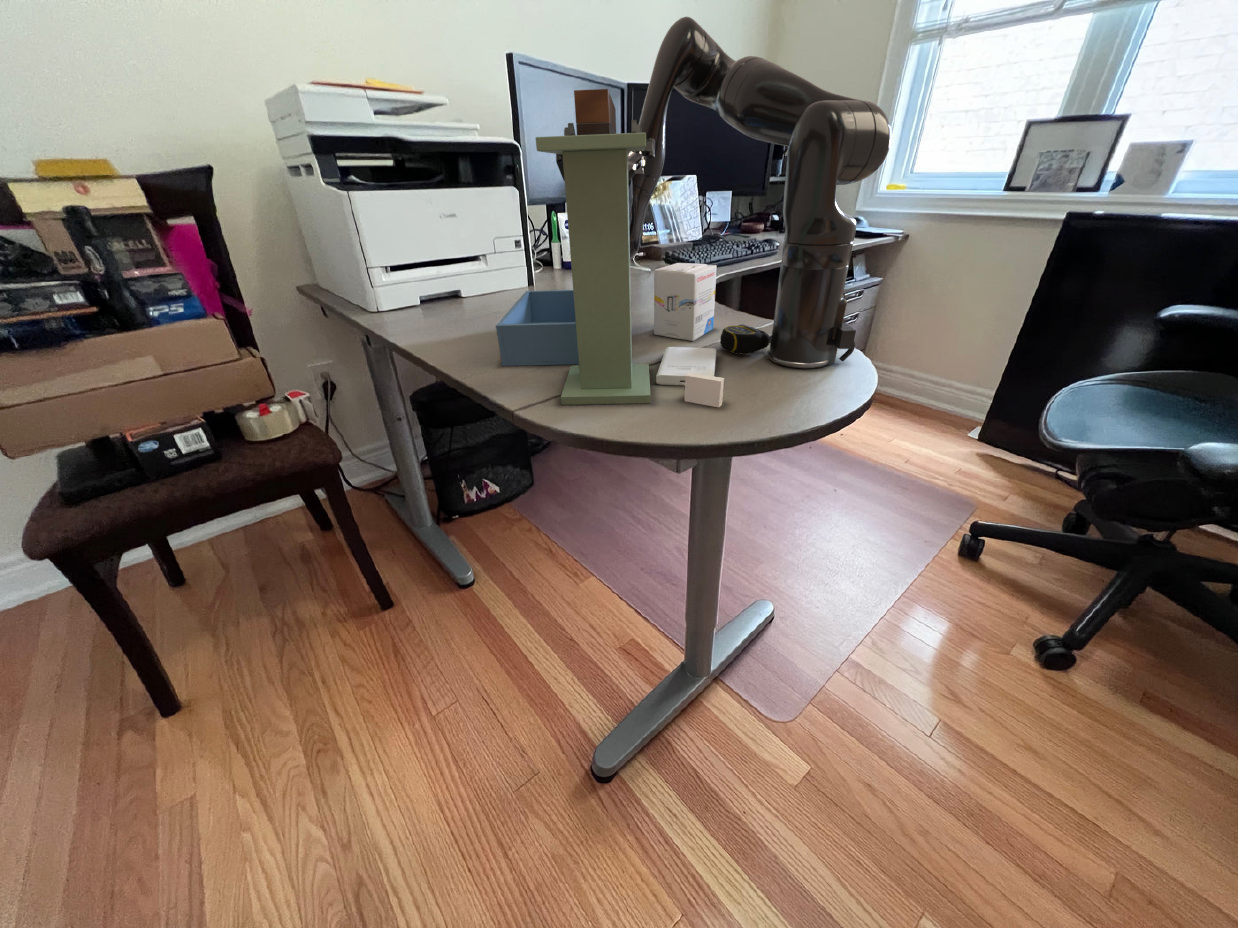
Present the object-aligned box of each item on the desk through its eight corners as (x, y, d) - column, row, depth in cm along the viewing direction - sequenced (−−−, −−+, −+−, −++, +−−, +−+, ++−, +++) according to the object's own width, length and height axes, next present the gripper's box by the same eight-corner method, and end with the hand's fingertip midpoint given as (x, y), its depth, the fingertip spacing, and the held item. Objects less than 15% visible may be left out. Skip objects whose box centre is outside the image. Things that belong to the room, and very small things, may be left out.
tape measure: (770, 353, 81) (773, 330, 79) (737, 361, 78) (740, 338, 76) (742, 342, 86) (744, 321, 84) (711, 349, 83) (712, 327, 81)
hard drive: (715, 358, 80) (713, 387, 70) (665, 356, 81) (655, 384, 71) (716, 348, 79) (714, 376, 69) (665, 346, 81) (655, 373, 70)
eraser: (719, 407, 64) (721, 381, 62) (684, 401, 66) (685, 375, 64) (722, 404, 65) (724, 377, 63) (687, 398, 67) (688, 372, 65)
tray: (595, 322, 100) (594, 289, 97) (585, 364, 79) (582, 323, 76) (530, 324, 101) (525, 291, 97) (502, 366, 80) (495, 325, 76)
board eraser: (616, 143, 69) (615, 108, 67) (609, 136, 52) (608, 88, 50) (591, 144, 69) (589, 109, 67) (576, 137, 52) (573, 90, 50)
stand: (648, 366, 77) (647, 139, 62) (650, 409, 64) (651, 132, 48) (572, 368, 78) (553, 143, 62) (559, 411, 64) (530, 137, 49)
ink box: (675, 323, 98) (677, 261, 91) (714, 329, 93) (718, 264, 87) (652, 335, 92) (652, 268, 86) (692, 342, 87) (695, 272, 81)
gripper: (567, 171, 82) (549, 102, 66) (652, 168, 81) (655, 97, 65) (567, 216, 82) (549, 158, 66) (653, 213, 81) (656, 154, 65)
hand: (602, 128), depth 65 cm, fingers open, 8 cm apart
